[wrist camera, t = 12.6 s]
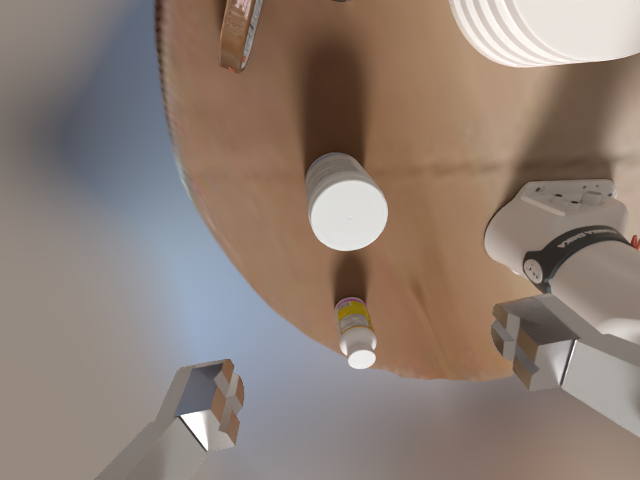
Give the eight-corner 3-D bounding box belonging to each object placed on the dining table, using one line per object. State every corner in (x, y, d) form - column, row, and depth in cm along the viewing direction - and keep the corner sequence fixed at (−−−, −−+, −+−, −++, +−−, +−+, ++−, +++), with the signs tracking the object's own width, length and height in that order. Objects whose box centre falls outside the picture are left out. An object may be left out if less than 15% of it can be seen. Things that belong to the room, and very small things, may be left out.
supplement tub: (296, 194, 47) (294, 235, 34) (321, 140, 43) (329, 162, 30) (347, 217, 50) (364, 263, 37) (375, 167, 46) (405, 198, 33)
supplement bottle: (360, 322, 61) (374, 375, 50) (330, 317, 60) (337, 371, 49) (370, 297, 58) (386, 348, 47) (338, 292, 57) (348, 343, 46)
